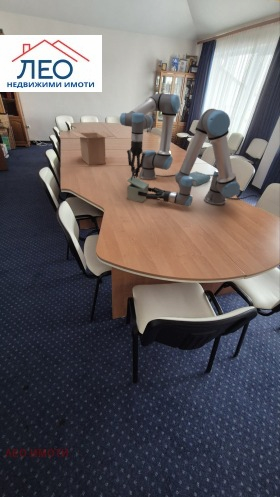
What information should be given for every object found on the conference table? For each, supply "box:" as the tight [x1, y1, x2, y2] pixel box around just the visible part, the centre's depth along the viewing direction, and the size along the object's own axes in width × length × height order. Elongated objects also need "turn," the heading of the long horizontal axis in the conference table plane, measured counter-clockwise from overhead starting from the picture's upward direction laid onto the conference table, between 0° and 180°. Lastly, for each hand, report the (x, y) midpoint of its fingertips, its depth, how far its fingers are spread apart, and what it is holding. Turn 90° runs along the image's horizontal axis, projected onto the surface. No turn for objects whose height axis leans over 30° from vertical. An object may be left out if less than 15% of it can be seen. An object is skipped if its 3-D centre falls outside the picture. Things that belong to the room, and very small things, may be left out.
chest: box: [126, 183, 150, 203], centre depth 164 cm, size 13×10×10 cm
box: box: [70, 129, 114, 166], centre depth 229 cm, size 44×36×27 cm
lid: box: [126, 168, 149, 190], centre depth 157 cm, size 14×10×9 cm
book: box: [189, 171, 211, 187], centre depth 203 cm, size 23×16×5 cm
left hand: (135, 176), depth 158 cm, fingers closed on lid, 2 cm apart
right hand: (140, 190), depth 162 cm, fingers closed on chest, 10 cm apart
